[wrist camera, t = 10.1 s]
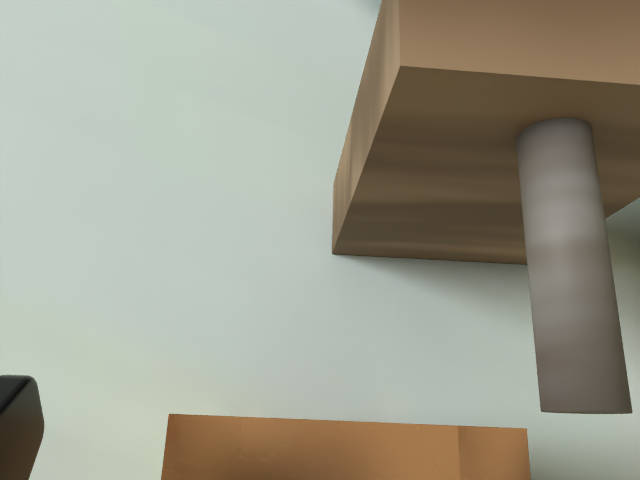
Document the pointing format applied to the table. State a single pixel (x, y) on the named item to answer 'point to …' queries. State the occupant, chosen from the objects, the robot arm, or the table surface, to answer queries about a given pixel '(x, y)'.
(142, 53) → the table surface
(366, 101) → the walnut stand
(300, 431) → the C-link
